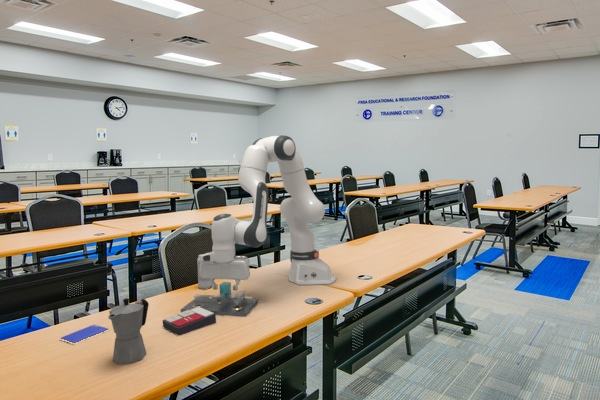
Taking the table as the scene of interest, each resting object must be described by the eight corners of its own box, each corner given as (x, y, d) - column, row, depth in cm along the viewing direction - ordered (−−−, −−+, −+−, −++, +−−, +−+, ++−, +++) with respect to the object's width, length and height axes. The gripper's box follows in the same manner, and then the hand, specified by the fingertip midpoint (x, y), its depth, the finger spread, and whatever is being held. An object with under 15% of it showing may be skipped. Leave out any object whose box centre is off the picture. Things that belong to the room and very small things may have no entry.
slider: (231, 298, 173) (230, 282, 172) (223, 306, 164) (222, 289, 164) (223, 298, 174) (223, 281, 173) (215, 306, 165) (214, 288, 164)
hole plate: (258, 302, 174) (258, 287, 174) (246, 316, 159) (245, 301, 158) (198, 299, 179) (197, 285, 179) (180, 313, 164) (179, 298, 163)
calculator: (161, 318, 150) (198, 304, 161) (163, 329, 151) (199, 315, 161) (177, 326, 143) (215, 311, 153) (179, 338, 143) (216, 323, 154)
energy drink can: (213, 285, 198) (212, 253, 197) (209, 289, 192) (208, 256, 191) (201, 285, 199) (199, 253, 197) (196, 289, 193) (195, 256, 191)
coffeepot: (125, 370, 120) (121, 307, 118) (100, 364, 124) (95, 304, 122) (162, 347, 135) (159, 291, 133) (138, 343, 138) (134, 288, 136)
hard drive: (93, 324, 152) (59, 337, 141) (108, 328, 148) (74, 342, 137) (93, 328, 152) (59, 342, 142) (108, 332, 148) (74, 346, 138)
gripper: (251, 254, 171) (252, 288, 172) (203, 253, 175) (205, 286, 176) (246, 257, 164) (247, 293, 166) (196, 256, 169) (198, 291, 170)
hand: (225, 289), depth 171 cm, fingers open, 7 cm apart
